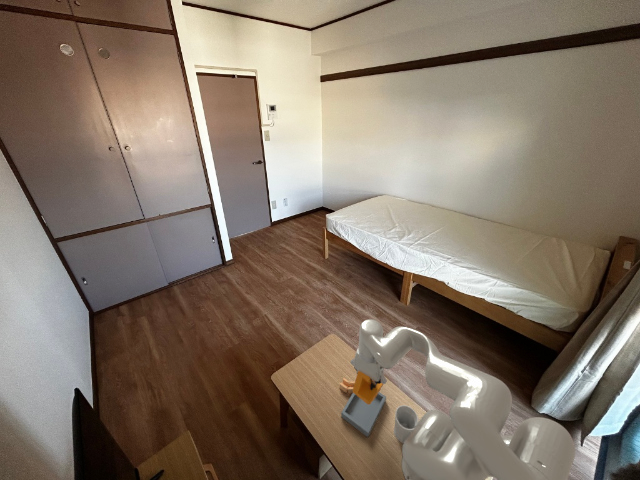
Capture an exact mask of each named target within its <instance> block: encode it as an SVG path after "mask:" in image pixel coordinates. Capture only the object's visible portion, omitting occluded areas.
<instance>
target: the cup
mask: <svg viewBox="0 0 640 480" xmlns="http://www.w3.org/2000/svg"><path fill="white" fill-rule="evenodd" d="M394 412H395V413H394V414H395V415H394V428H393V434H394V437H395V438H396V439H397V440H398V441H399V442H400V443H402V444H404V442H405V440H406V439H407V437H408V436H409V435H410V433H411V432H412V431H413V429H414V428H415V426H416V425H417V423H418V422H419V421H420V419H419V417H418V416H419V415H418V414H417V412H416V411H415V410H414V409H413V408H412V406H409V405H406V404H405V405H404V404H401V405H399V406H397V408H396V409H395V411H394Z"/></svg>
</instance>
